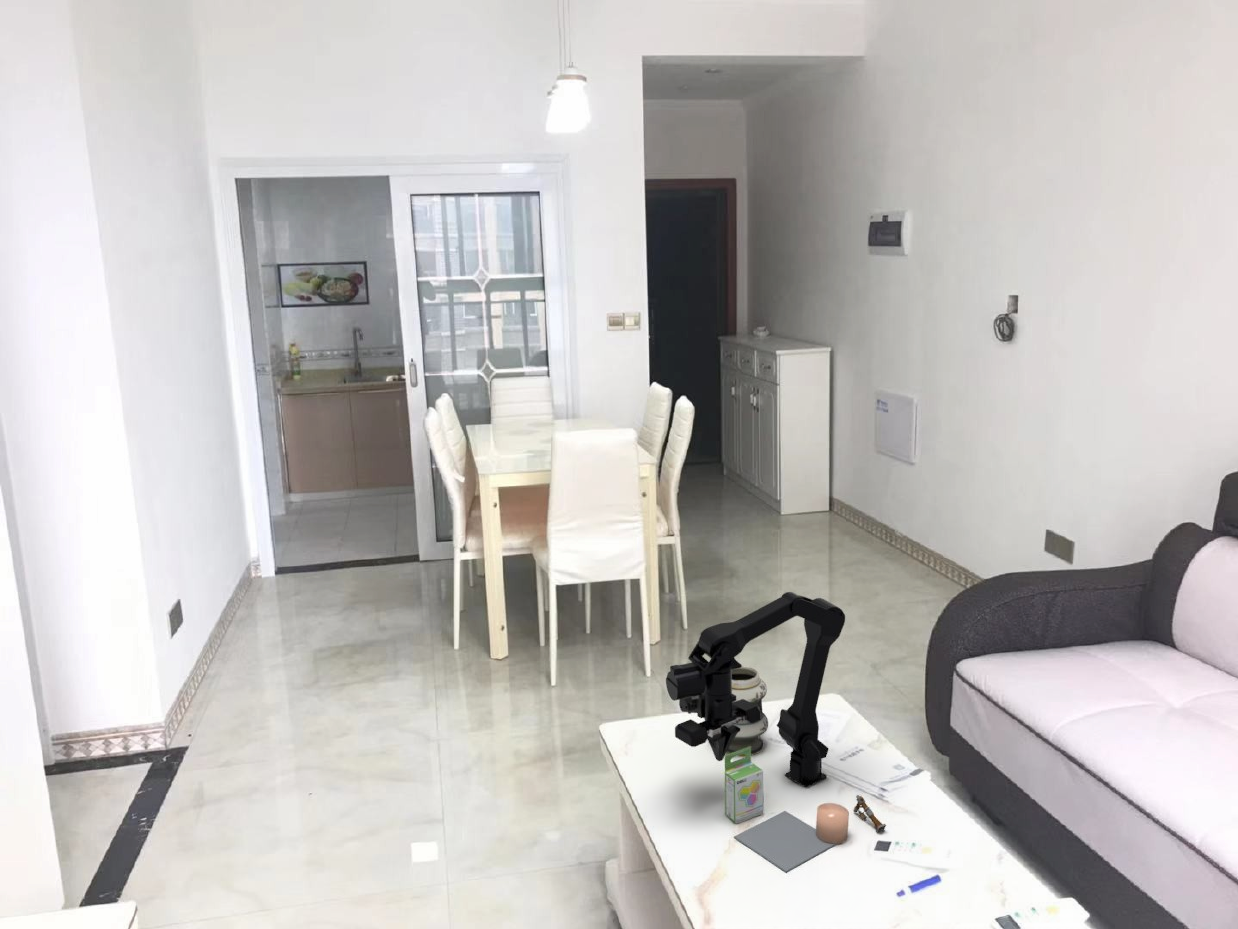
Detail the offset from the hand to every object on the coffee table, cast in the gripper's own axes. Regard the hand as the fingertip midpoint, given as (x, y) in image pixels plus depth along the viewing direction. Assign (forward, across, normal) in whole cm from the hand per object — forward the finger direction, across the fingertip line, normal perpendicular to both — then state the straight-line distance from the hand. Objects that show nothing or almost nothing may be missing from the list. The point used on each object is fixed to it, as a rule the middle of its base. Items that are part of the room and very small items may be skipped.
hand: (719, 760), depth 200 cm
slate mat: (+9, 0, +19) cm, 21 cm away
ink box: (+9, 0, +7) cm, 12 cm away
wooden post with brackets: (+9, -17, +25) cm, 31 cm away
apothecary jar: (+9, -19, -14) cm, 25 cm away
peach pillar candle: (+9, -8, +23) cm, 26 cm away
